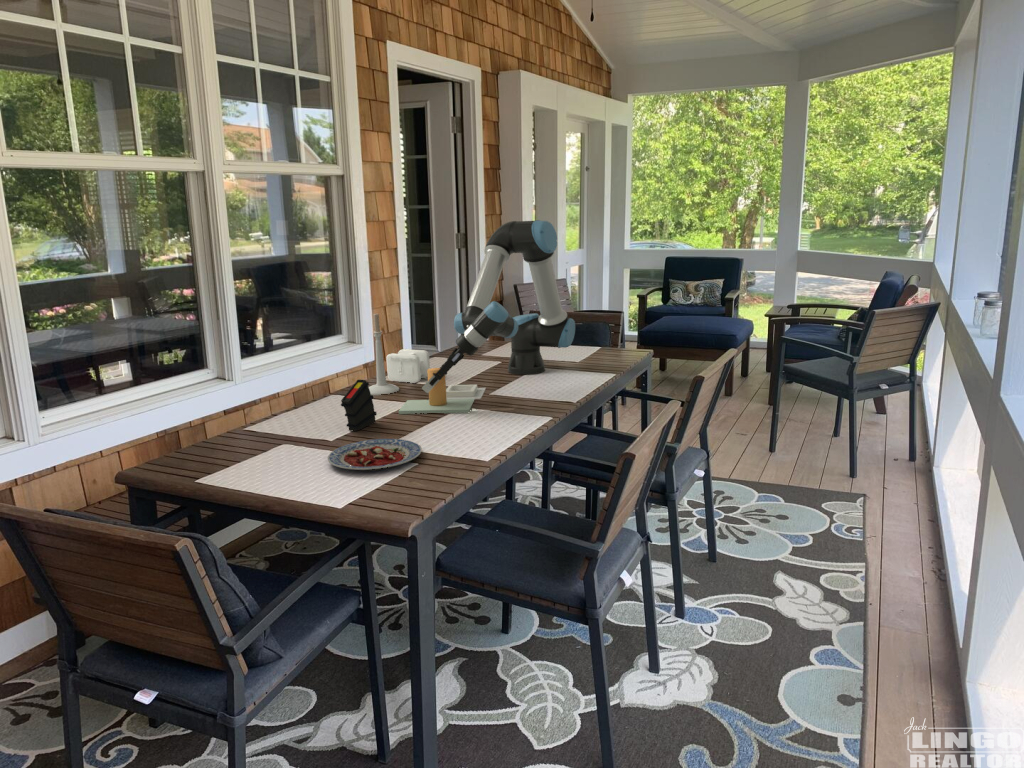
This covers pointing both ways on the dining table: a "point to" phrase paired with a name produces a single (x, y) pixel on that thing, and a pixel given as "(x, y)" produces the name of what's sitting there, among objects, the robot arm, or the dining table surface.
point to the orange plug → (437, 390)
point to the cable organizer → (408, 365)
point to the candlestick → (380, 365)
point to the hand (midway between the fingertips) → (426, 387)
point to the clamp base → (464, 392)
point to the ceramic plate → (374, 454)
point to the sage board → (425, 407)
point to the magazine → (359, 406)
